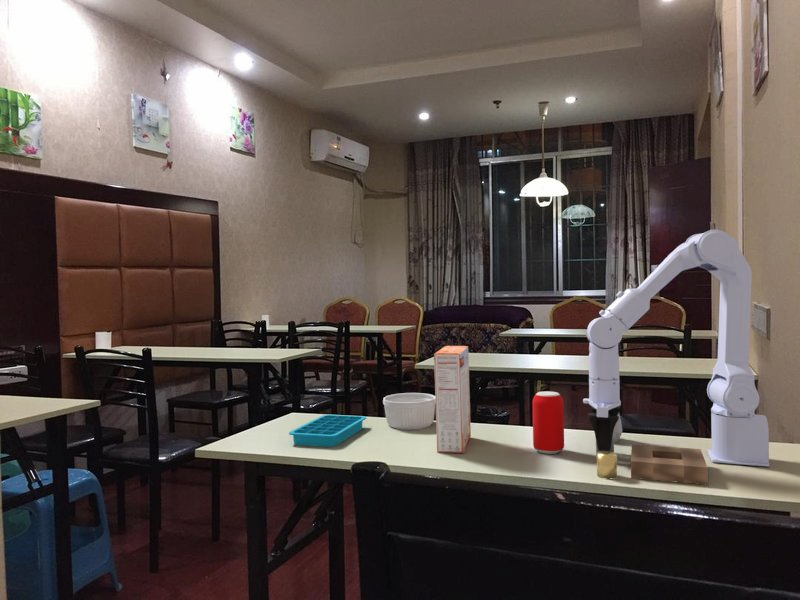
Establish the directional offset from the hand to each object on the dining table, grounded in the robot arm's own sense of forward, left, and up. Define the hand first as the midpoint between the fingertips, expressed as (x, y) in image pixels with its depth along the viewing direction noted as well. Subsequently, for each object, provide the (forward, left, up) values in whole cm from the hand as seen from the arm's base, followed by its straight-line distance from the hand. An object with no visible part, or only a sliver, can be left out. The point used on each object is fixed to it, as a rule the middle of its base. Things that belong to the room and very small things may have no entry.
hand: (605, 446), depth 119 cm
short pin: (-1, +13, -2) cm, 13 cm away
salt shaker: (0, -13, -2) cm, 13 cm away
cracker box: (+31, +1, -2) cm, 31 cm away
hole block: (-11, +7, -2) cm, 13 cm away
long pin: (0, 0, -2) cm, 2 cm away
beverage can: (+11, 0, -2) cm, 11 cm away
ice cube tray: (+61, +2, -2) cm, 61 cm away
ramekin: (+47, -14, -2) cm, 49 cm away
